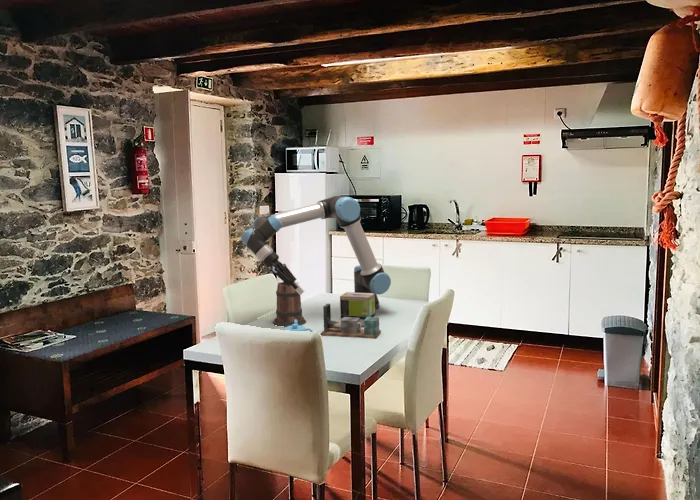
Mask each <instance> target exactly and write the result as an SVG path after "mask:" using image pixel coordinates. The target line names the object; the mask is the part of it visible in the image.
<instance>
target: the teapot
mask: <svg viewBox="0 0 700 500" xmlns="http://www.w3.org/2000/svg"><path fill="white" fill-rule="evenodd" d="M285 330H290V331H310V333H311V332H313V329H311V328H309V327H305V326H304V325H298V323H297V319H295V320H294V324H292V326H287V327H285V329H284V331H285ZM313 333H314V332H313Z"/></svg>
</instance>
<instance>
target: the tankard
mask: <svg viewBox="0 0 700 500" xmlns="http://www.w3.org/2000/svg"><path fill="white" fill-rule="evenodd" d="M296 282H297V283H298V284H299V282H298V281H296ZM288 285H289V284H288ZM288 285H287V284H286V283H285V282H283V281H282V282H278V283H277V288H276V291H275V294H276V310H275V315H276V317H275V319H273V320H274V321H273V322H272V323H273V324H274V325H273V324H272V325H273V326H275V325H277V326H276V327H278V326H284V327H283V328H286V327H287V326H292V324H294V320H295V319H297V323H298V325H302V326H304V325H305V324H307V320H306V319H305V317H304V316H303V308H302V302H301V301H302V300H301V298H302V297H301V295H299V294H298V293H297V292H296V291H295V289H294V288H293V287H292V286H291V285H290V286H288Z"/></svg>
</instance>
